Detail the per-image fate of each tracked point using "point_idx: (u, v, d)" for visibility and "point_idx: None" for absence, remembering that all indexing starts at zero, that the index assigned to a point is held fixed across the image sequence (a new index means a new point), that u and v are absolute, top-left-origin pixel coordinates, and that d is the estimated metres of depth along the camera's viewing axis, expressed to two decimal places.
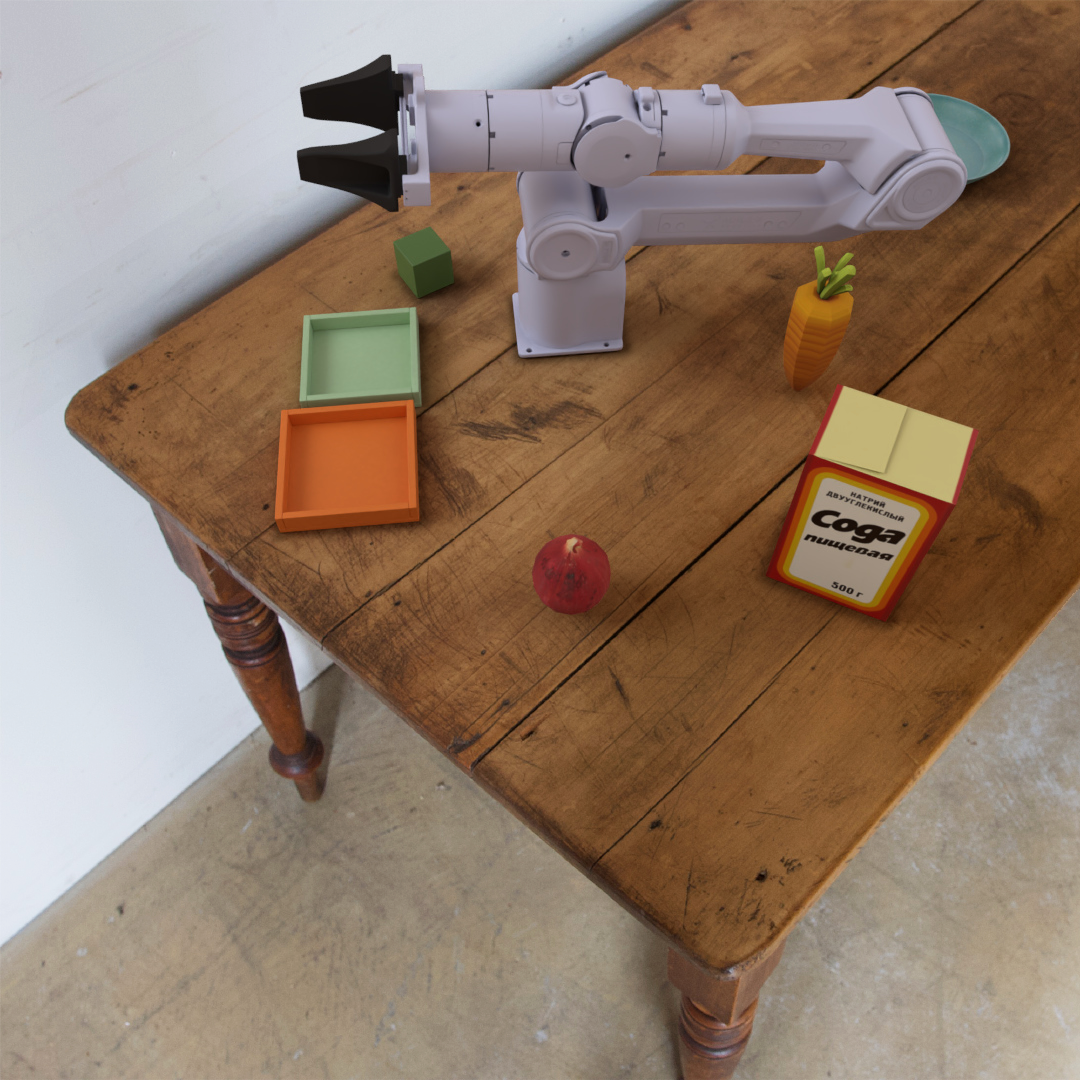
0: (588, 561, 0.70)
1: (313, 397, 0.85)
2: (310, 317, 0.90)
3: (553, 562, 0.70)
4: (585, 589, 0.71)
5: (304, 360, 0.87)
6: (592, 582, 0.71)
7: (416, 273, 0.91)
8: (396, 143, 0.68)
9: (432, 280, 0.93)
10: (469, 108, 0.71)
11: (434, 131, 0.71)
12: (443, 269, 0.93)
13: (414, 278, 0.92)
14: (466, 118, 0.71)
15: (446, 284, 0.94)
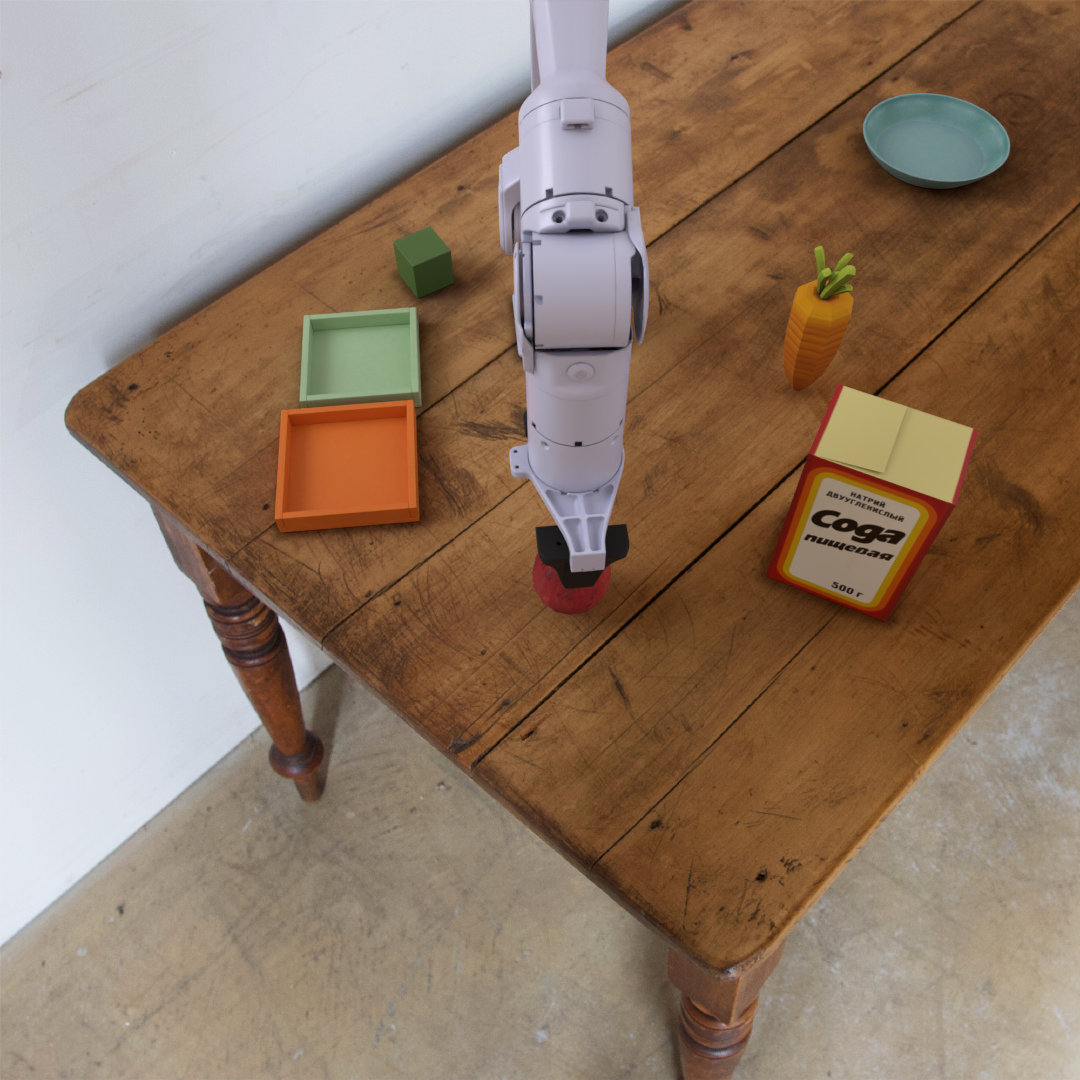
0: None
1: (313, 397, 0.85)
2: (310, 317, 0.90)
3: None
4: (585, 589, 0.71)
5: (304, 360, 0.87)
6: None
7: (416, 273, 0.91)
8: (538, 550, 0.60)
9: (432, 280, 0.93)
10: (533, 440, 0.58)
11: (552, 482, 0.59)
12: (443, 269, 0.93)
13: (414, 278, 0.92)
14: (540, 451, 0.57)
15: (446, 284, 0.94)
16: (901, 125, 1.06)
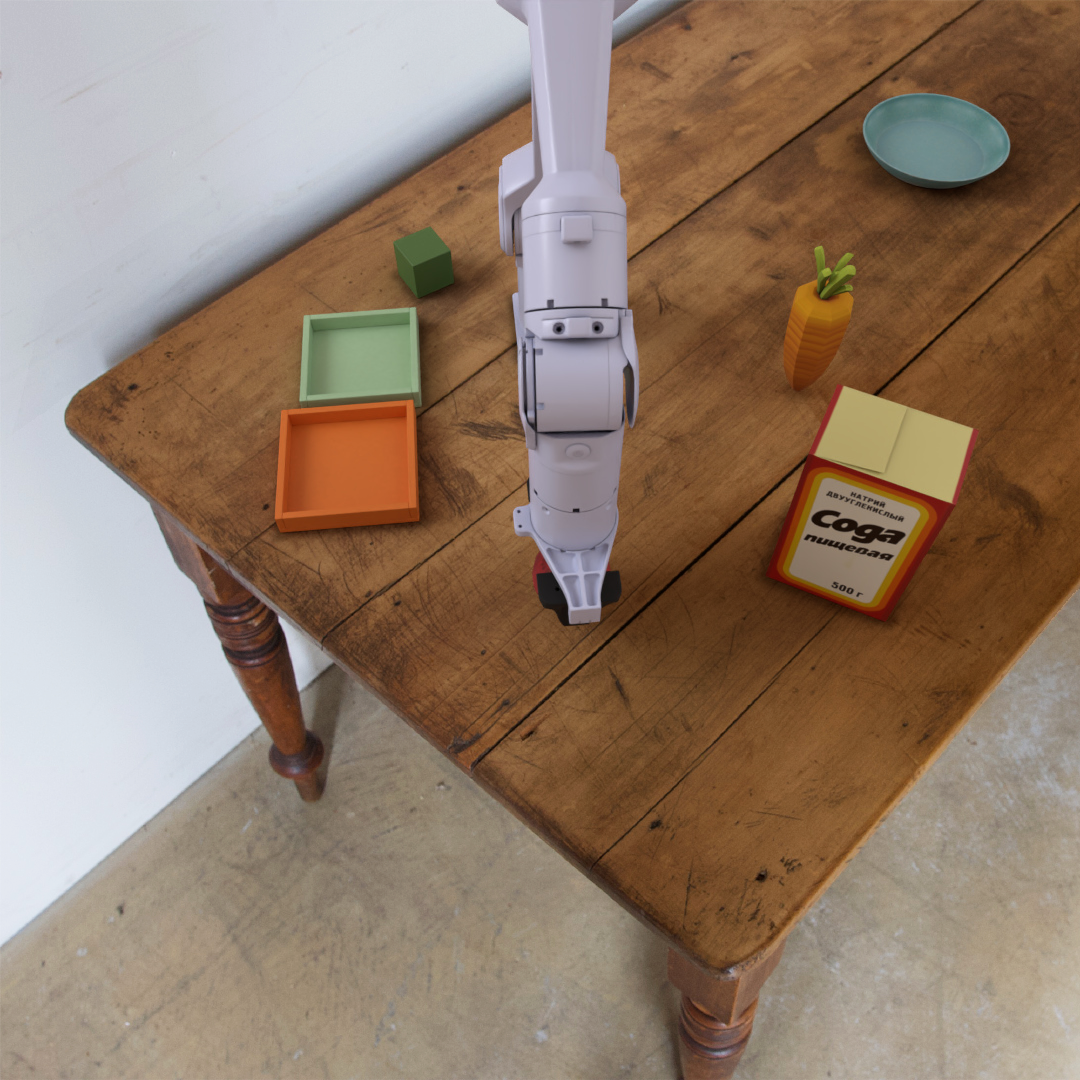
0: None
1: (313, 397, 0.85)
2: (310, 317, 0.90)
3: None
4: None
5: (304, 360, 0.87)
6: None
7: (416, 273, 0.91)
8: (539, 595, 0.66)
9: (432, 280, 0.93)
10: (535, 504, 0.63)
11: (552, 541, 0.65)
12: (443, 269, 0.93)
13: (414, 278, 0.92)
14: (541, 514, 0.63)
15: (446, 284, 0.94)
16: (901, 125, 1.06)
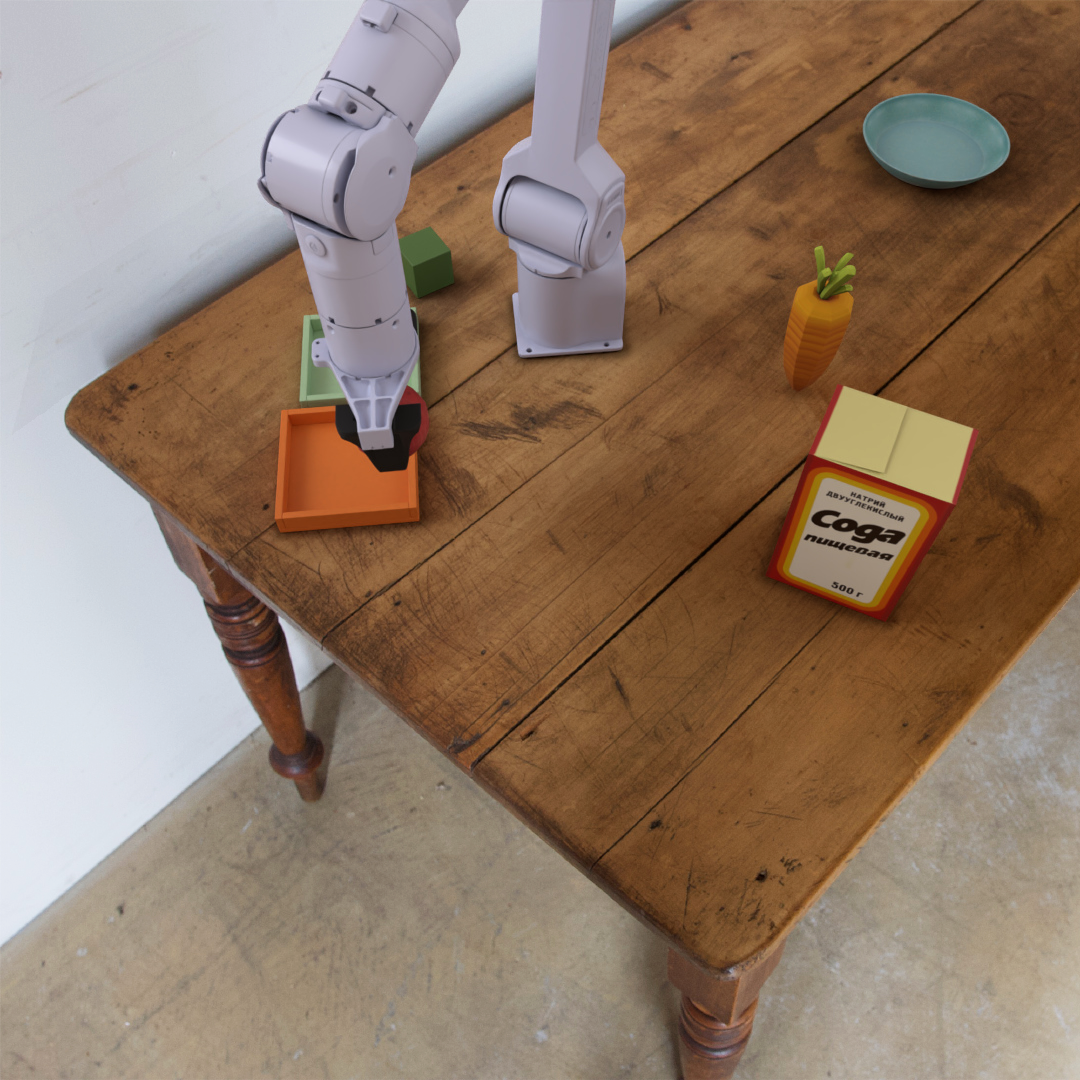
0: None
1: (313, 397, 0.85)
2: (310, 317, 0.90)
3: None
4: None
5: (304, 360, 0.87)
6: None
7: (416, 273, 0.91)
8: None
9: (432, 280, 0.93)
10: (323, 326, 0.62)
11: (346, 367, 0.64)
12: (443, 269, 0.93)
13: (414, 278, 0.92)
14: (329, 336, 0.62)
15: (446, 284, 0.94)
16: (901, 125, 1.06)
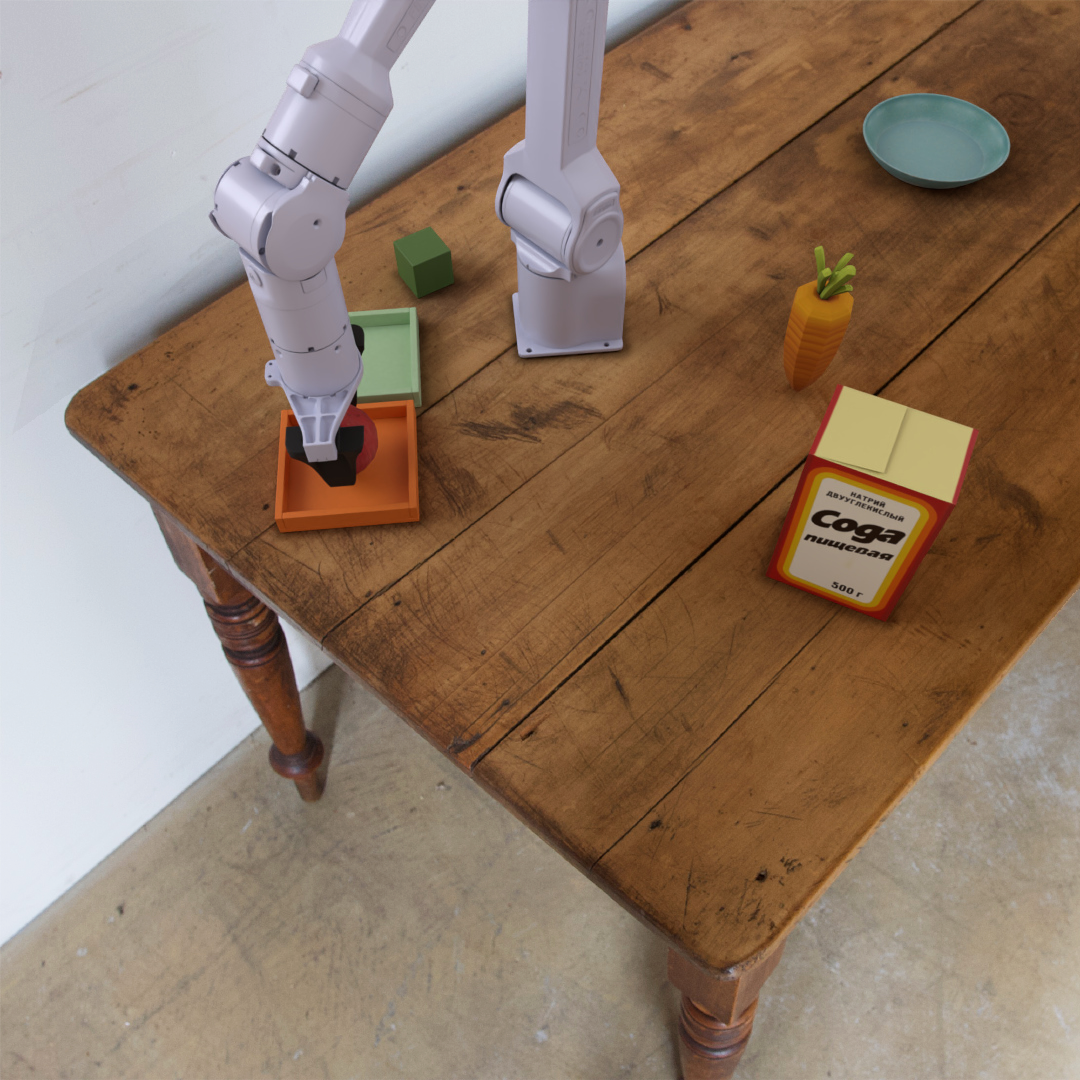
0: (348, 424, 0.77)
1: None
2: None
3: None
4: None
5: None
6: None
7: (416, 273, 0.91)
8: (285, 445, 0.71)
9: (432, 280, 0.93)
10: (273, 350, 0.69)
11: (294, 387, 0.70)
12: (443, 269, 0.93)
13: (414, 278, 0.92)
14: (278, 358, 0.69)
15: (446, 284, 0.94)
16: (901, 125, 1.06)
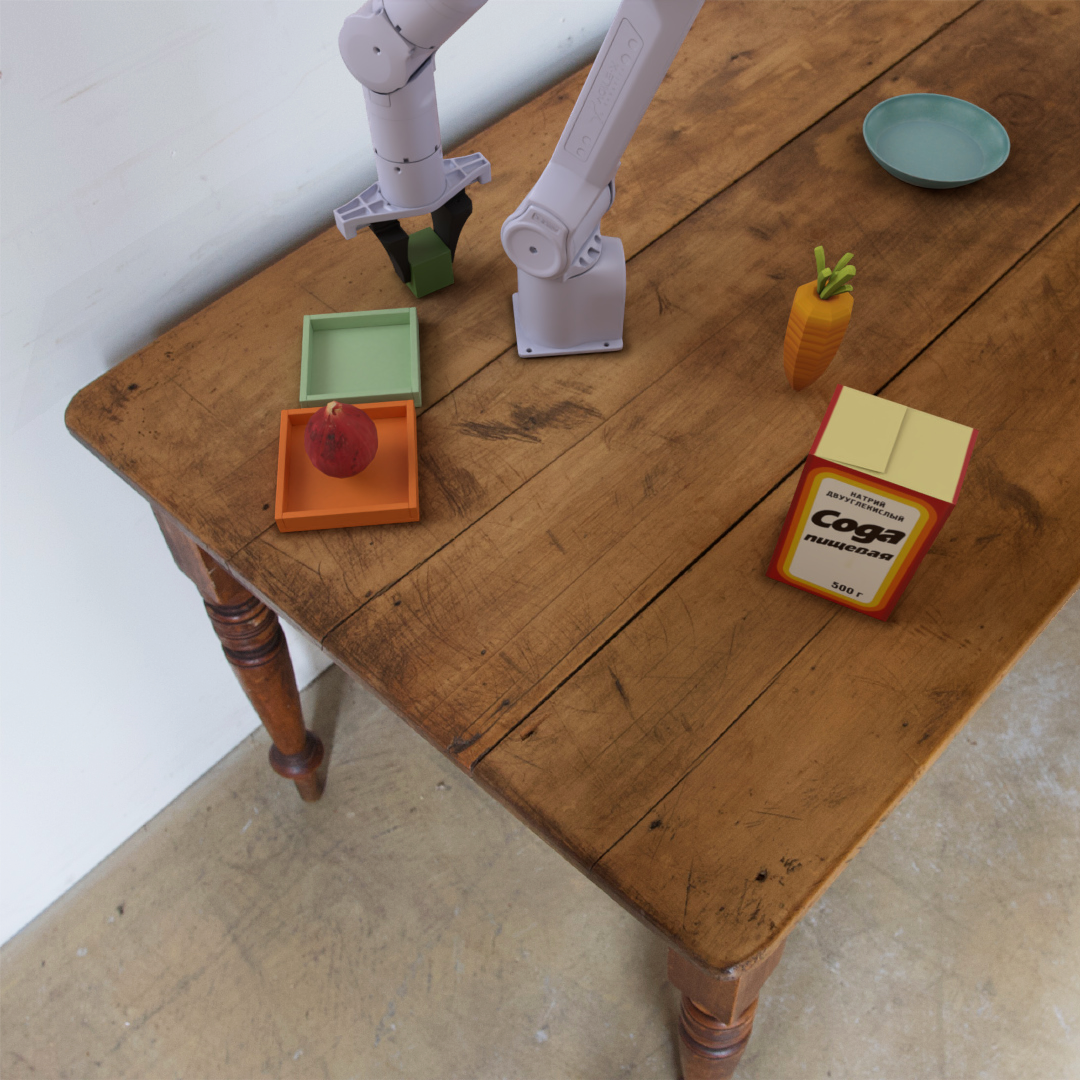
0: (348, 424, 0.77)
1: (313, 397, 0.85)
2: (310, 317, 0.90)
3: (316, 424, 0.77)
4: (346, 450, 0.77)
5: (304, 360, 0.87)
6: (352, 444, 0.77)
7: (416, 273, 0.91)
8: None
9: (432, 281, 0.93)
10: None
11: None
12: (443, 269, 0.93)
13: (414, 279, 0.92)
14: None
15: (446, 284, 0.94)
16: (901, 125, 1.06)
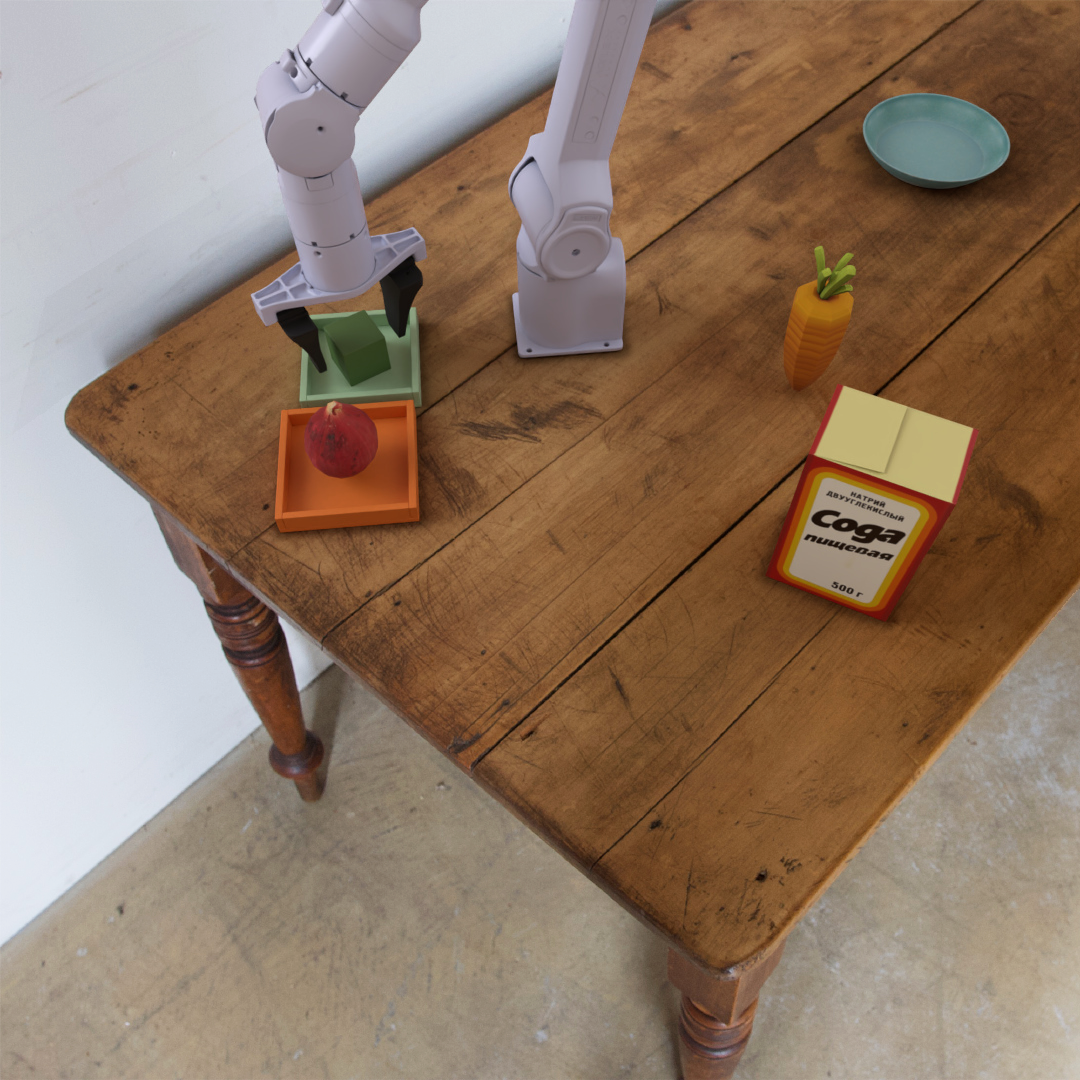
0: (348, 424, 0.77)
1: (313, 397, 0.85)
2: (310, 317, 0.90)
3: (316, 424, 0.77)
4: (346, 450, 0.77)
5: (304, 360, 0.87)
6: (352, 444, 0.77)
7: (348, 361, 0.85)
8: None
9: (366, 368, 0.87)
10: None
11: None
12: (378, 356, 0.86)
13: (345, 367, 0.85)
14: None
15: (382, 370, 0.88)
16: (901, 125, 1.06)
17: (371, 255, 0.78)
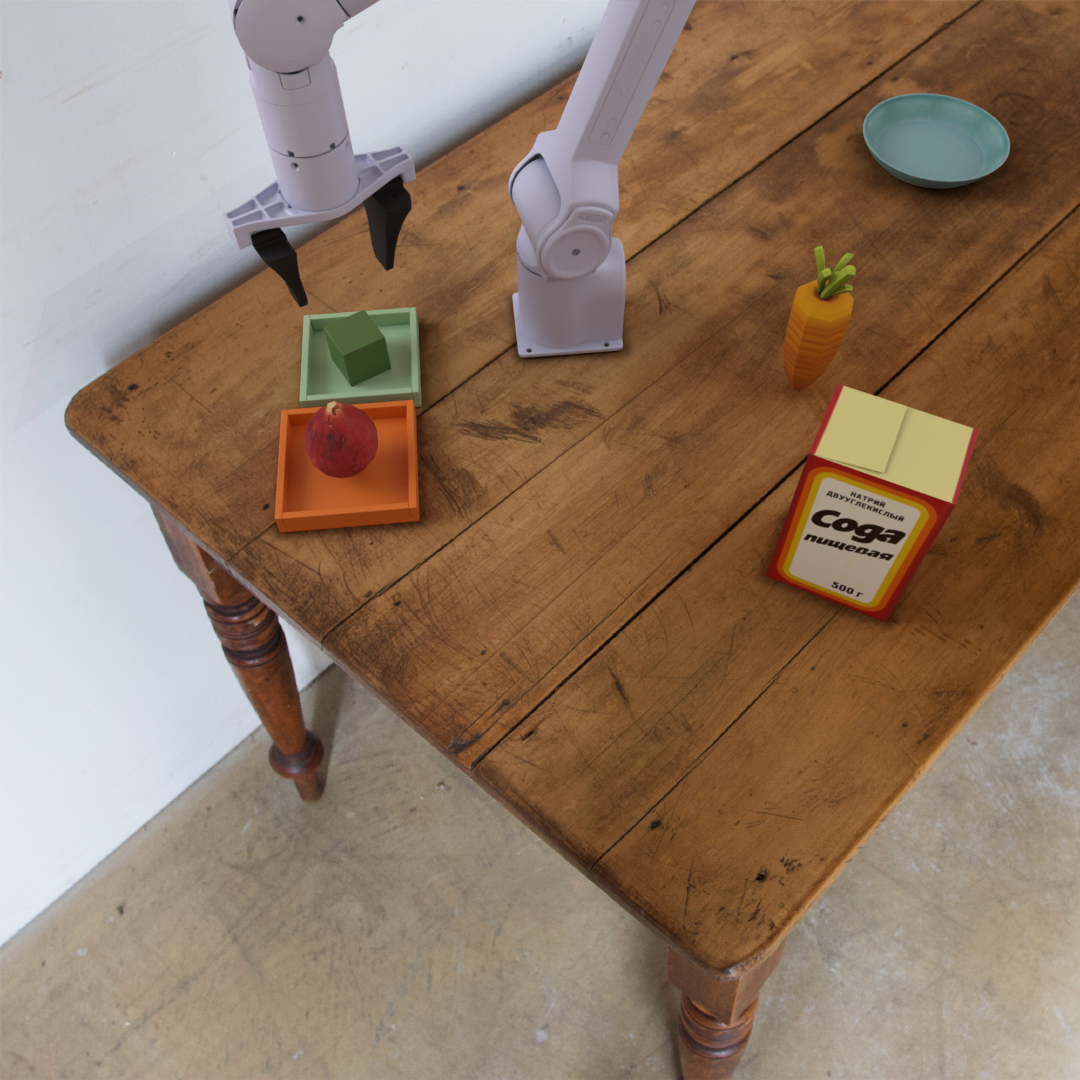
0: (348, 424, 0.77)
1: (313, 397, 0.85)
2: (310, 317, 0.90)
3: (316, 424, 0.77)
4: (346, 450, 0.77)
5: (304, 360, 0.87)
6: (352, 444, 0.77)
7: (348, 361, 0.85)
8: None
9: (366, 368, 0.87)
10: None
11: None
12: (378, 356, 0.86)
13: (345, 367, 0.85)
14: None
15: (382, 370, 0.88)
16: (901, 125, 1.06)
17: (354, 171, 0.71)
